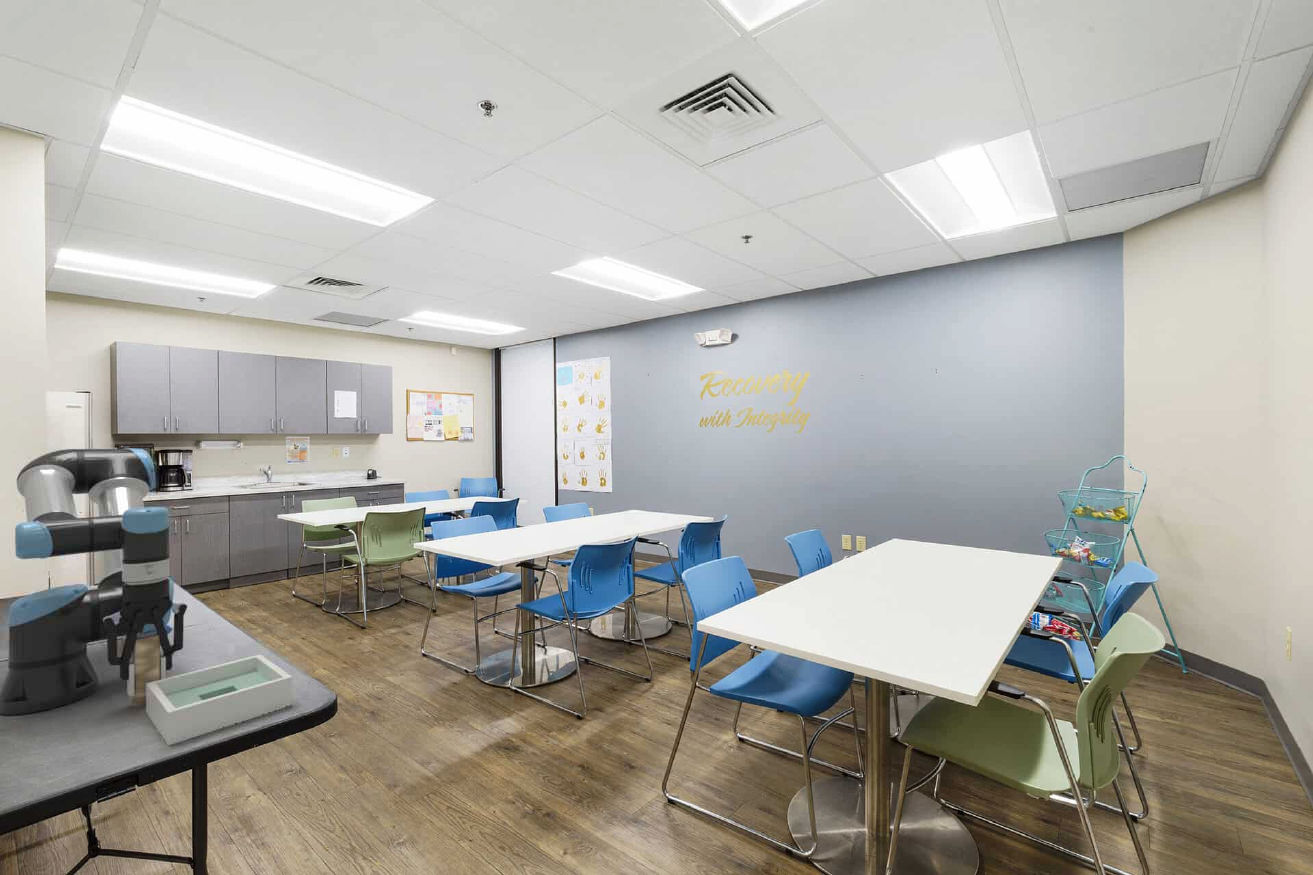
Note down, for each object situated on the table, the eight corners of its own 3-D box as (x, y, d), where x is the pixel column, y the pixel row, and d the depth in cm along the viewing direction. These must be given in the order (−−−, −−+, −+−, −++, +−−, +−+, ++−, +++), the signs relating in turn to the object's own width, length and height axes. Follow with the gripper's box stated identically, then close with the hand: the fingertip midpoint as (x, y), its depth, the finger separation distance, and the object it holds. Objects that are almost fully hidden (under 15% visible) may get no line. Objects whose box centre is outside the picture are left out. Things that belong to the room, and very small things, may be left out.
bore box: (168, 745, 104) (168, 712, 104) (146, 712, 116) (146, 683, 116) (292, 705, 119) (292, 676, 119) (260, 680, 132) (260, 654, 132)
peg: (134, 709, 118) (134, 641, 118) (130, 703, 121) (130, 637, 121) (162, 701, 121) (162, 635, 121) (158, 695, 124) (157, 631, 124)
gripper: (91, 591, 112) (91, 710, 112) (202, 575, 125) (202, 681, 125) (86, 585, 117) (86, 699, 117) (193, 570, 130) (193, 672, 130)
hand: (146, 689), depth 121 cm, fingers closed on peg, 4 cm apart
